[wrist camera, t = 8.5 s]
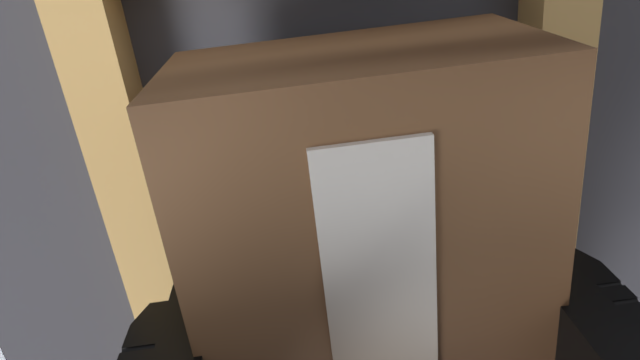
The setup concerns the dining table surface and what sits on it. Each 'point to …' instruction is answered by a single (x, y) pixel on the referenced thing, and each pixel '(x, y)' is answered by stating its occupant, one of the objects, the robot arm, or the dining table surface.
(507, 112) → the tan box with stripe
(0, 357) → the dining table surface
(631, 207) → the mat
